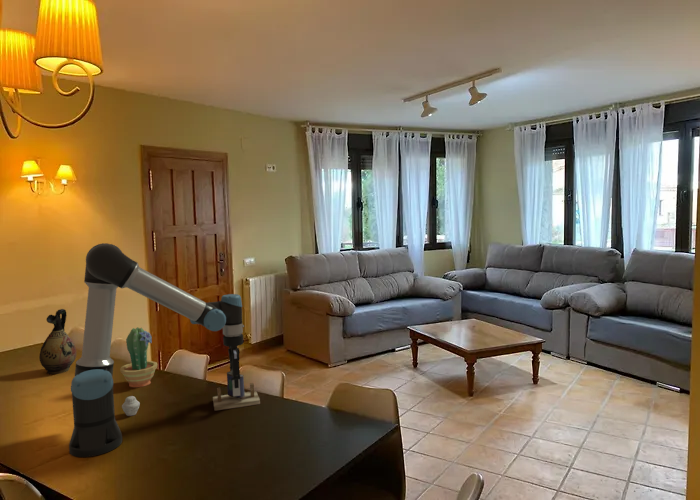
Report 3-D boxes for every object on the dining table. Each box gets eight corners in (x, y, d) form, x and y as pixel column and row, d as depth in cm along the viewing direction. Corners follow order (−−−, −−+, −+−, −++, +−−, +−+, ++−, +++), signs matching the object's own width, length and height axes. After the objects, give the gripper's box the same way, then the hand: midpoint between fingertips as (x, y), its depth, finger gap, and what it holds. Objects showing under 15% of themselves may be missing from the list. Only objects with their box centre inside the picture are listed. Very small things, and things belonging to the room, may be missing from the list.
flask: (246, 397, 190) (244, 370, 189) (240, 400, 188) (238, 372, 187) (231, 392, 196) (229, 366, 195) (225, 394, 194) (223, 368, 193)
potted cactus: (127, 392, 207) (123, 334, 205) (116, 383, 218) (112, 328, 216) (164, 383, 217) (160, 327, 215) (151, 375, 228) (148, 322, 227)
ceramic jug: (65, 375, 232) (61, 313, 230) (33, 376, 232) (28, 313, 230) (85, 364, 249) (81, 306, 246) (55, 365, 249) (51, 307, 247)
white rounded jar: (133, 418, 180) (132, 399, 179) (118, 417, 181) (117, 398, 180) (143, 411, 186) (142, 393, 185) (129, 410, 187) (128, 392, 186)
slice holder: (260, 403, 190) (259, 387, 189) (214, 410, 184) (213, 393, 184) (256, 394, 200) (255, 378, 200) (213, 400, 195) (212, 384, 194)
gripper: (246, 339, 182) (248, 399, 183) (240, 327, 201) (242, 382, 203) (225, 341, 179) (227, 402, 181) (221, 329, 199) (223, 384, 201)
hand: (235, 391), depth 192 cm, fingers closed on flask, 8 cm apart
